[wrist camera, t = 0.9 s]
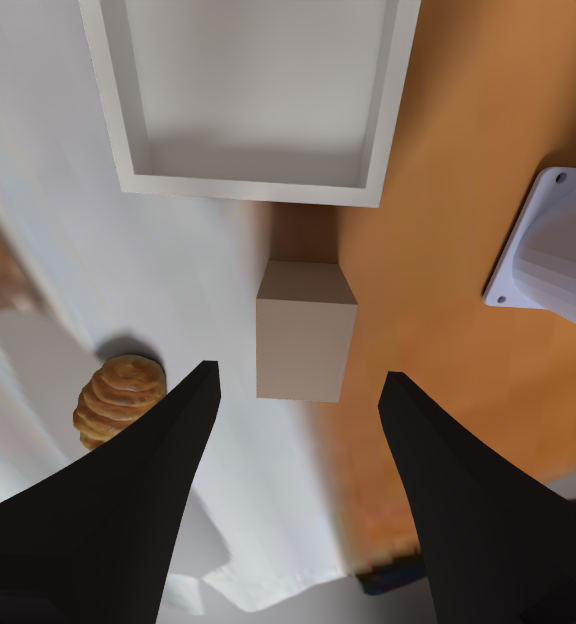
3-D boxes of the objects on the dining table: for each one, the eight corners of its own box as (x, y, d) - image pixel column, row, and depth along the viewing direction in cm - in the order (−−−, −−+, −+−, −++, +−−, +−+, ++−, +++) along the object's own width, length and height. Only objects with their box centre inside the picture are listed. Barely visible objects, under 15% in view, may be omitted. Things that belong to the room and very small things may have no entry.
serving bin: (438, -192, 9) (486, -316, 7) (366, 203, 15) (378, 207, 12) (74, -214, 9) (-1, -345, 7) (148, 189, 15) (121, 191, 12)
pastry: (102, 333, 20) (63, 366, 16) (186, 364, 21) (166, 400, 18) (89, 409, 24) (56, 447, 20) (161, 431, 25) (140, 471, 22)
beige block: (338, 263, 17) (358, 304, 11) (326, 340, 19) (338, 402, 14) (268, 259, 17) (256, 298, 11) (267, 337, 19) (256, 397, 14)
